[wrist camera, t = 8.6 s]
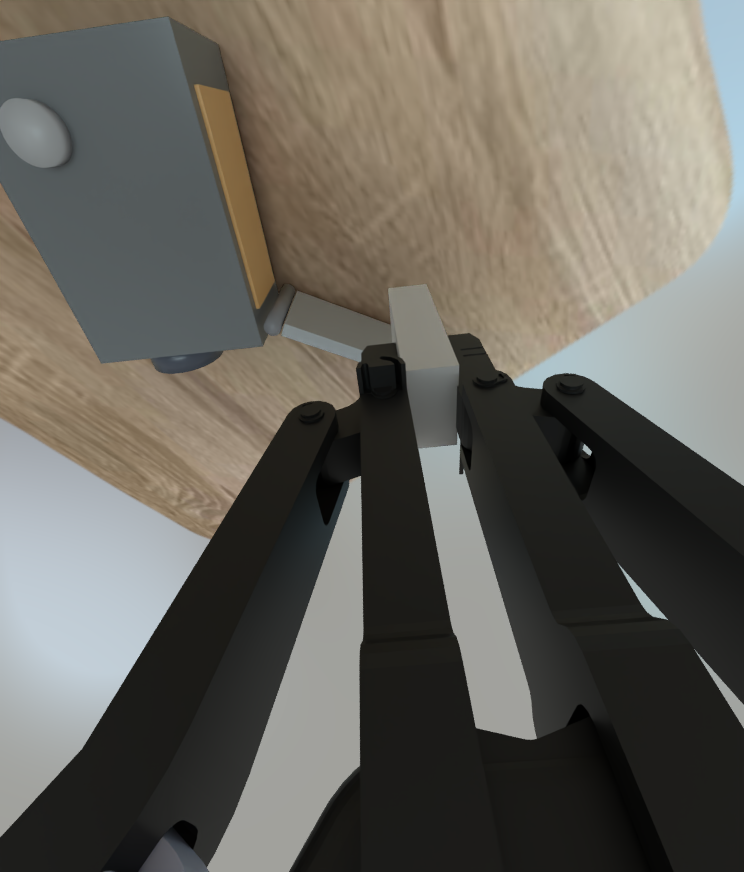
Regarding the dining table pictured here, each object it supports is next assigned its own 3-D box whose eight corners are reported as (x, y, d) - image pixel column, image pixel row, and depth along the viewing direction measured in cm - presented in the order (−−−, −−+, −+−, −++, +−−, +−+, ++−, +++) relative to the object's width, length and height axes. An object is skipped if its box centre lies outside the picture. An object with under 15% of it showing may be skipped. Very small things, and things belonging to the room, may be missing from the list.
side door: (448, 342, 32) (465, 385, 27) (440, 359, 33) (455, 404, 28) (283, 281, 29) (265, 316, 24) (278, 301, 30) (260, 339, 24)
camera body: (36, 69, 22) (-90, 48, 16) (221, 43, 22) (165, 11, 15) (157, 339, 32) (107, 392, 25) (288, 325, 31) (270, 376, 25)
